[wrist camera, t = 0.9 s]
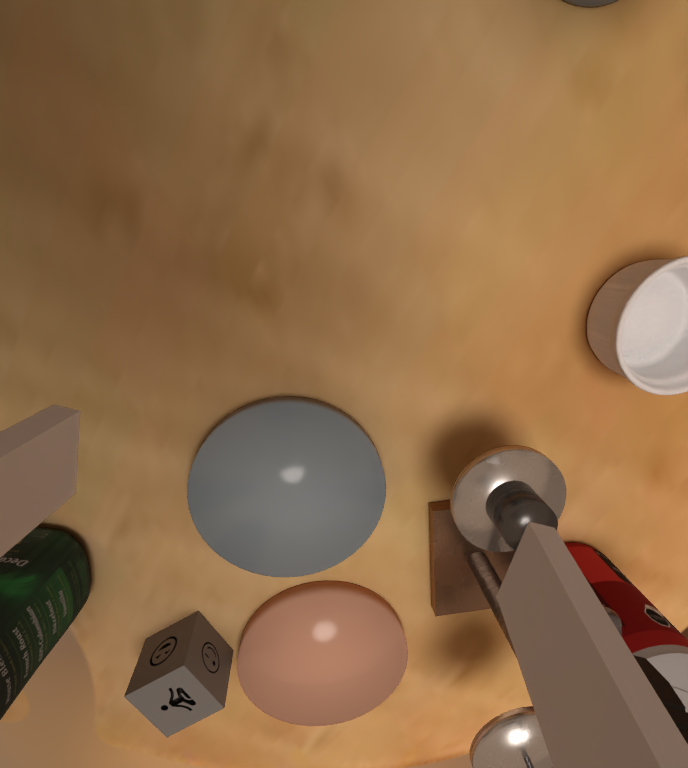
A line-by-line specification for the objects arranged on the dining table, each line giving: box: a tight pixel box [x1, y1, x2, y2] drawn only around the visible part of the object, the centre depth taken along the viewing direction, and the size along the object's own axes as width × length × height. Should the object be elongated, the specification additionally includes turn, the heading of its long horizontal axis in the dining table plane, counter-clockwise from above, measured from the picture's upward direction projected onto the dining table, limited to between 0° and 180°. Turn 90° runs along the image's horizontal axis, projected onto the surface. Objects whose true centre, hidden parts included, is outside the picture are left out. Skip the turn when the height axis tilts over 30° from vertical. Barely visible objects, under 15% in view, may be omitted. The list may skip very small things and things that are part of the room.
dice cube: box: [124, 611, 233, 737], centre depth 35 cm, size 5×5×5 cm
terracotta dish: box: [237, 581, 408, 726], centre depth 38 cm, size 14×14×2 cm
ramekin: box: [587, 256, 688, 395], centre depth 31 cm, size 9×9×4 cm
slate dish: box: [187, 396, 386, 577], centre depth 33 cm, size 14×14×2 cm
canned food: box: [564, 543, 688, 712], centre depth 34 cm, size 8×8×11 cm
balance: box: [429, 445, 622, 768], centre depth 28 cm, size 24×7×20 cm, turn 5°
